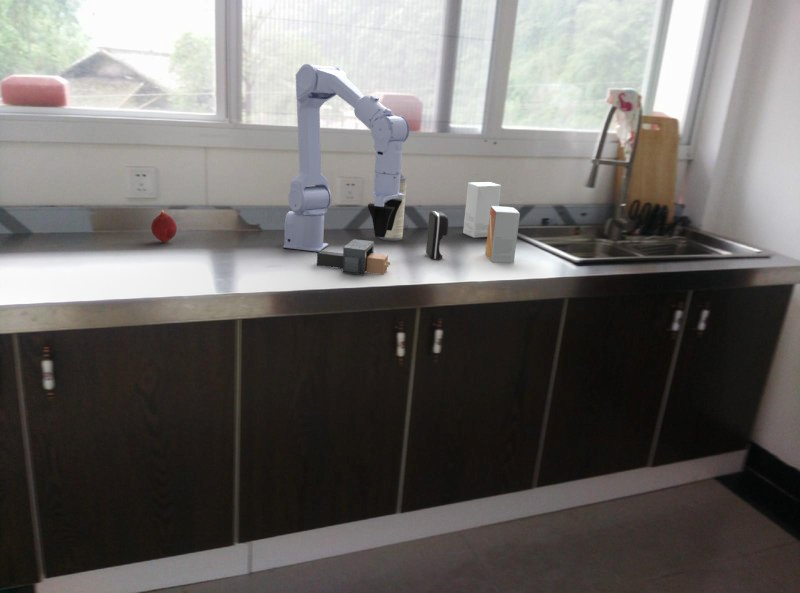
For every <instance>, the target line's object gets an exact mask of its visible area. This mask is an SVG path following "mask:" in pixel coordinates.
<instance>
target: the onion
mask: <svg viewBox="0 0 800 593" xmlns="http://www.w3.org/2000/svg"><path fill="white" fill-rule="evenodd" d="M177 226H178V225H177V224H176V222H175V220H174V218H172V217H171V216H170V215H169V214H167V213H166V211H165V210H163V209H162V210H161V211H160V214H159V215H157V216H156V217H155V218H154V219H153V220H152V222H151V227H150V230H151V233H152V234H153V236H154V237H155V238H156V239H157V240H159V242H161V243H163V244H166V243H168V242H169V241H170V240H172V239H173V238H174V237H175V235H176V234H177V228H178V227H177Z"/></svg>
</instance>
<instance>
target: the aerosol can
mask: <svg viewBox="0 0 800 593" xmlns="http://www.w3.org/2000/svg"><path fill="white" fill-rule="evenodd" d="M399 193H402V194H405V195H404V198H397V199H402V203H401V205H400V206H399V209H398V211H397V214H396V217H395V221H394V225H393V228H392V230H391V231H389V230H387V232H386V235H385V237H384V238H383V237H377V238H378V239H380V240H383V241H390V242H393V241H394V242H397V241H402V240H403V234H404V233H403V232H404V221H405V220H404V217H405V206H406V205H405V204H406V193H407V177H404V174H403V173H401V175H400V189H399Z"/></svg>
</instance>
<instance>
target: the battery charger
mask: <svg viewBox="0 0 800 593" xmlns="http://www.w3.org/2000/svg"><path fill="white" fill-rule="evenodd" d="M448 232H449V217H448V215H446V214H445V213H444V212H442V211H435V210H433V211H430V212H429V214H428V224H427V235H426V247H425V252H426V254H427V256H428V257H430V259H432V260H436V259H437V260H441V259H443V255H442V254H441V251H440V243H441V240H442V239H443V237H444V236H445V237H446V236H448Z"/></svg>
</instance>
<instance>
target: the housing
mask: <svg viewBox="0 0 800 593" xmlns="http://www.w3.org/2000/svg"><path fill="white" fill-rule="evenodd" d="M374 248H375V241H373V240H365V239H364V240H363V239H356V238H355V239H354V238H353V239H352V240H350V241H349V242H348V243H347V244H346V245H345V246H344V247H343V248H342V249H343V250H342V251H343V252H342V253H343V268H342V270H341V271H342V273H343V274H353V275H360V276H364V275H365V274H366V271H365V267H366V256H369V255H370V254H371V253H373V254H374V251H375V250H374Z"/></svg>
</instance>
